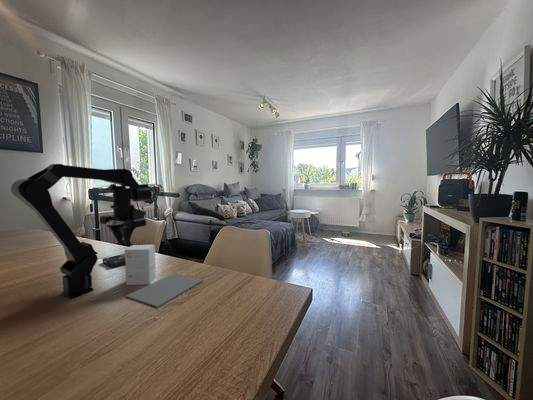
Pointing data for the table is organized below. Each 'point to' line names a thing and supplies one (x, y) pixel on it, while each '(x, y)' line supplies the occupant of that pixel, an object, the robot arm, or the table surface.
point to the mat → (164, 290)
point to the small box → (140, 264)
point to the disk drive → (115, 261)
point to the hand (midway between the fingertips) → (123, 243)
